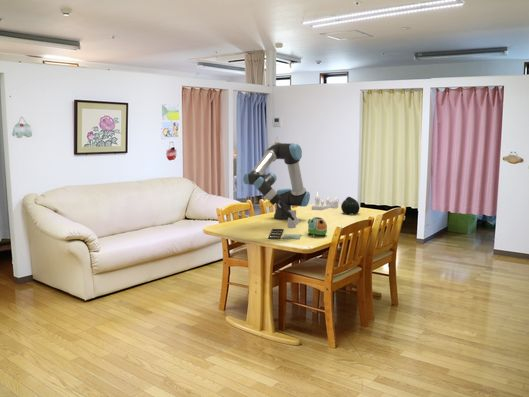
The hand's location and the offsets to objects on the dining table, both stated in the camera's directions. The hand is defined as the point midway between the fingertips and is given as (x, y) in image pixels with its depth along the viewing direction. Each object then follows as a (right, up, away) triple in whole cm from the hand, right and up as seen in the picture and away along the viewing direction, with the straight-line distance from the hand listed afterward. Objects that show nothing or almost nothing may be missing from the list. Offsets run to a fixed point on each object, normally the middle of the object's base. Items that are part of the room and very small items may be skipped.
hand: (297, 222), depth 322 cm
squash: (+50, +3, +87) cm, 100 cm away
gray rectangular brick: (-4, -3, +1) cm, 5 cm away
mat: (-4, -10, +2) cm, 11 cm away
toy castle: (+32, +6, +112) cm, 116 cm away
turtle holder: (+13, -9, +9) cm, 18 cm away
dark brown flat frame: (-14, -9, +9) cm, 19 cm away
